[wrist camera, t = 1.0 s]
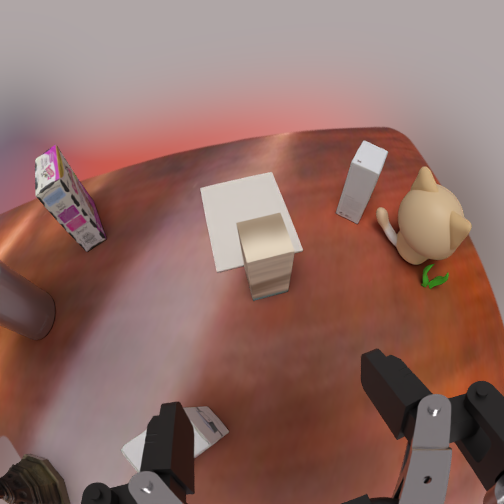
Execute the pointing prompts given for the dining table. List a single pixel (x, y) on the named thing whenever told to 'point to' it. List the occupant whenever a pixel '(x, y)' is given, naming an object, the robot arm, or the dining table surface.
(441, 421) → the robot arm
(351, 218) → the skincare box
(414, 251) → the kitten
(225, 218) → the mat
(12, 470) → the book lectern
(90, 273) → the dining table surface
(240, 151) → the dining table surface
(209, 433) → the ink box
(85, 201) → the candy bar box
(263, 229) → the birch block
